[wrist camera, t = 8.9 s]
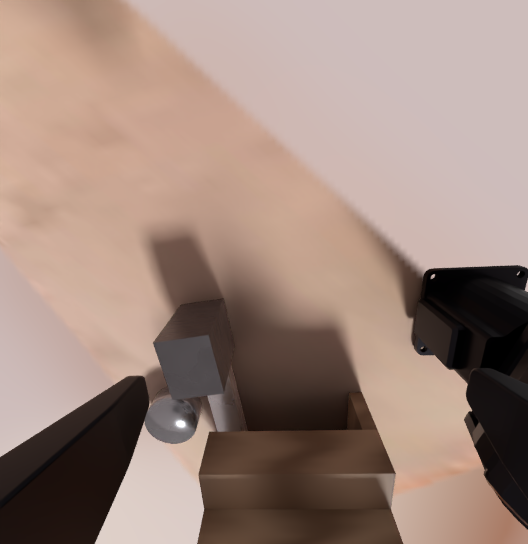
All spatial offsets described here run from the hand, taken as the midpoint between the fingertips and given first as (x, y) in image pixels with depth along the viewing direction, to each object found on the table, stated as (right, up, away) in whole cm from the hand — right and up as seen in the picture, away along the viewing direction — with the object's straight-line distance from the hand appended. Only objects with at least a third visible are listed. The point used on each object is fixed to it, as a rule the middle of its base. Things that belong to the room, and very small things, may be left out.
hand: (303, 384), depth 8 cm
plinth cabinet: (+1, -10, +16) cm, 18 cm away
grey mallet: (-5, -5, +14) cm, 16 cm away
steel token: (-8, -8, +16) cm, 19 cm away
